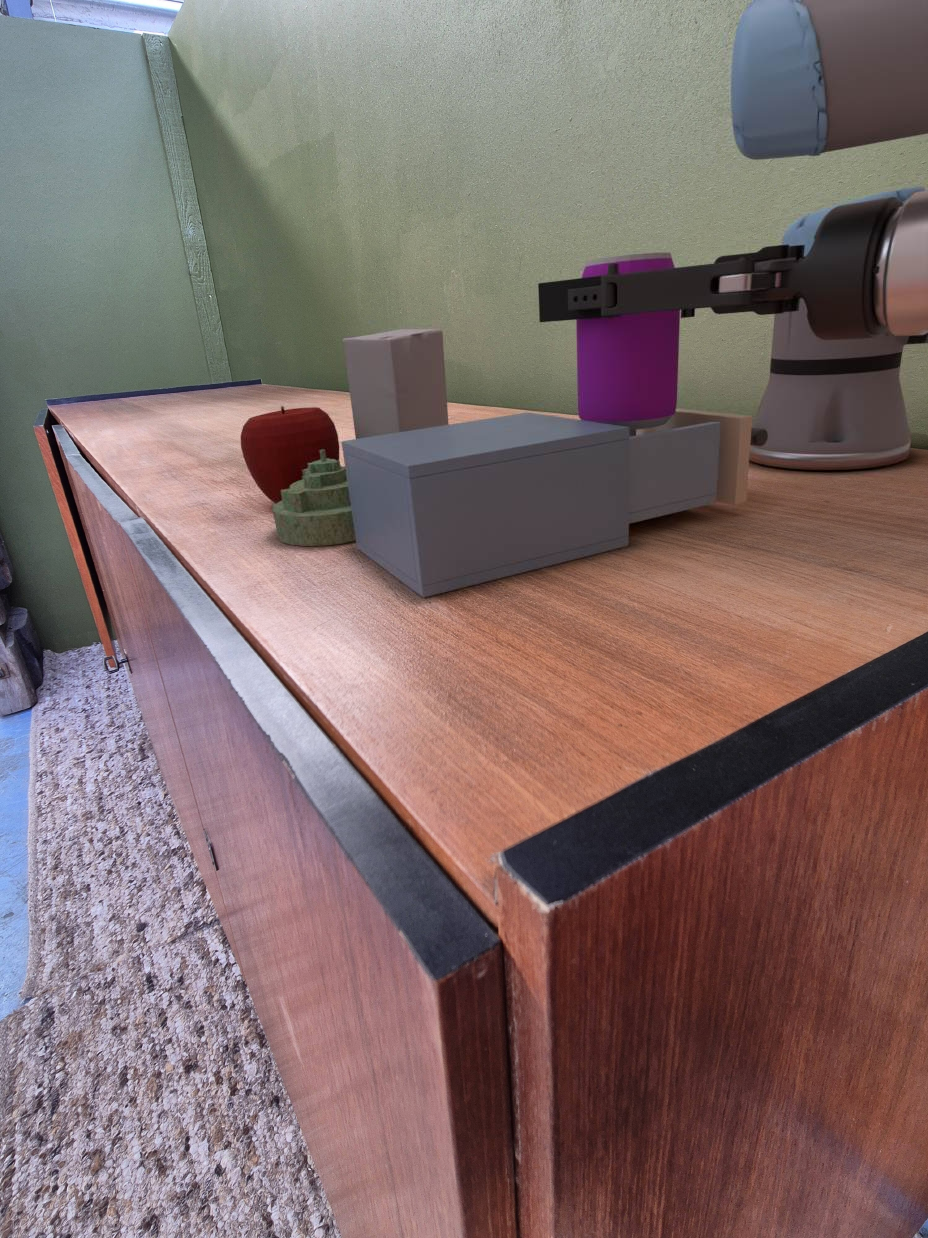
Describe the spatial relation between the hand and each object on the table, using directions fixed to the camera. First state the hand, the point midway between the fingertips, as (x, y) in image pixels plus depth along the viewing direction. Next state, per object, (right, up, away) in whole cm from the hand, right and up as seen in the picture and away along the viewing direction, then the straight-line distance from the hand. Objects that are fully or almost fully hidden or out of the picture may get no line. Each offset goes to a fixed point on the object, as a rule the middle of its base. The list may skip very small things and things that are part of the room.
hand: (574, 300), depth 57 cm
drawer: (+6, -15, +4) cm, 17 cm away
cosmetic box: (-15, -12, +19) cm, 27 cm away
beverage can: (+4, -10, +1) cm, 11 cm away
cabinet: (-7, -20, -2) cm, 21 cm away
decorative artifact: (-20, -18, +7) cm, 28 cm away
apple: (-26, -14, +17) cm, 34 cm away
